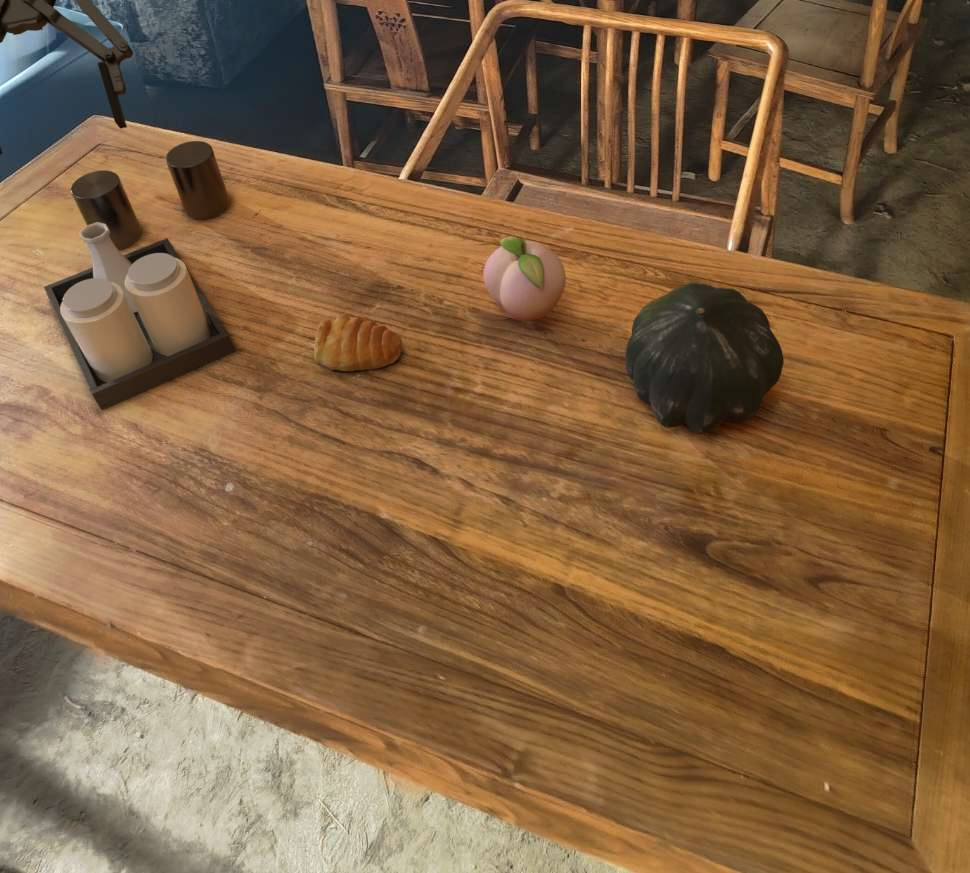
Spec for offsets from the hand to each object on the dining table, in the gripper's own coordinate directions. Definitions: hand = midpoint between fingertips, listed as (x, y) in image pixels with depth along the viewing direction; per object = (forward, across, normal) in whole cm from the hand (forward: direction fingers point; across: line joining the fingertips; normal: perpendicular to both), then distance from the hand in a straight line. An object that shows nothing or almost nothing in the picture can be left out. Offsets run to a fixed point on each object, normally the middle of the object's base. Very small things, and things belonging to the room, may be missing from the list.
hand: (58, 138), depth 102 cm
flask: (+18, +1, +8) cm, 19 cm away
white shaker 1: (+25, 0, -1) cm, 25 cm away
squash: (+45, +57, -21) cm, 75 cm away
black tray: (+22, +2, +4) cm, 22 cm away
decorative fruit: (+32, +45, -7) cm, 55 cm away
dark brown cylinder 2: (+7, +12, +19) cm, 24 cm away
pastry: (+31, +25, -6) cm, 40 cm away
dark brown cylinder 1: (+8, 0, +18) cm, 20 cm away
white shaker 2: (+24, +7, 0) cm, 25 cm away
